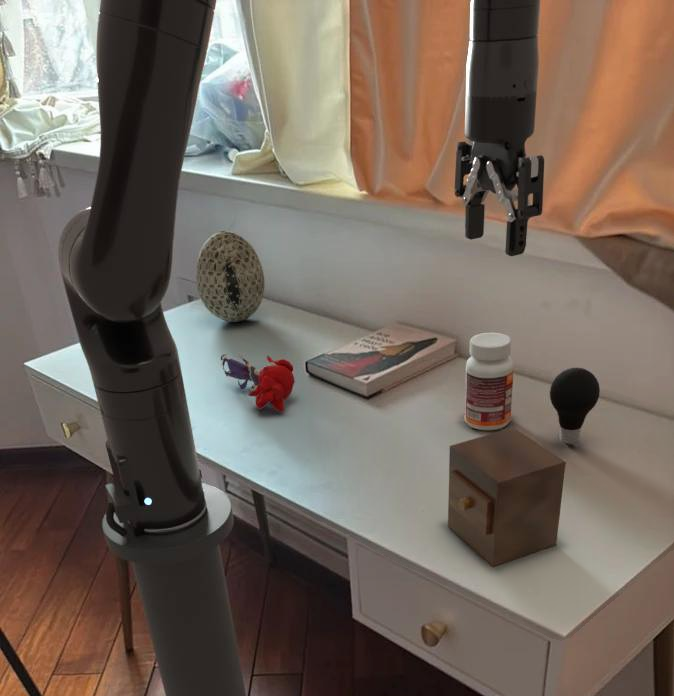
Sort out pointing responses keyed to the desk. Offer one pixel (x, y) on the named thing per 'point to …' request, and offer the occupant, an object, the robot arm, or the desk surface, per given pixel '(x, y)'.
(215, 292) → the decorative egg
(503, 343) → the pill bottle
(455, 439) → the desk surface
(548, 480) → the box
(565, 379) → the light bulb
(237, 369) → the figurine
